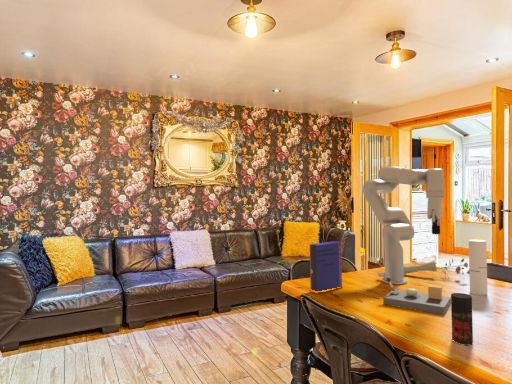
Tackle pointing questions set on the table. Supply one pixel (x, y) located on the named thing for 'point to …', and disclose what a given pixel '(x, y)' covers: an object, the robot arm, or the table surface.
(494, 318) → the table surface
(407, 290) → the push button
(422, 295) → the control panel
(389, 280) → the toggle lever
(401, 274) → the robot arm
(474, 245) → the cylindrical container
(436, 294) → the paddle switch
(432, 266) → the flower vase
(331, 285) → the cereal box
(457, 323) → the deodorant
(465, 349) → the table surface
